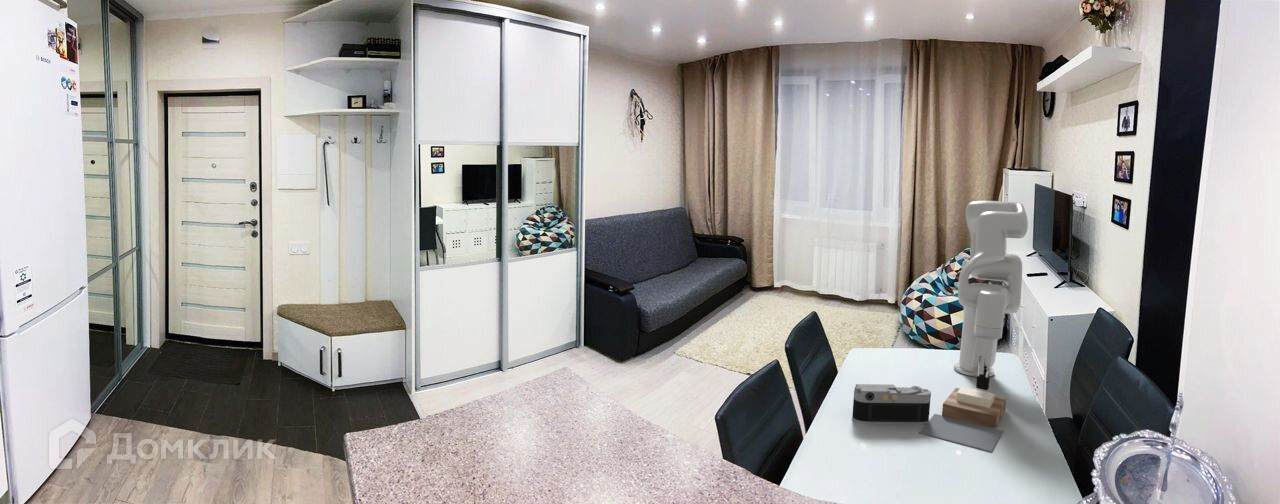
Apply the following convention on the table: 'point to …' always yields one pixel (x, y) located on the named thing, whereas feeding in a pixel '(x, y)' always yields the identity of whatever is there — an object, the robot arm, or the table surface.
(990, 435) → the mat
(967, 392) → the cream rectangular block
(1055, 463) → the table surface
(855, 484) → the table surface
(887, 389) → the camera
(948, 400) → the brown flat block
